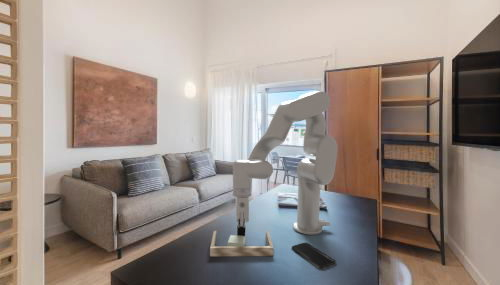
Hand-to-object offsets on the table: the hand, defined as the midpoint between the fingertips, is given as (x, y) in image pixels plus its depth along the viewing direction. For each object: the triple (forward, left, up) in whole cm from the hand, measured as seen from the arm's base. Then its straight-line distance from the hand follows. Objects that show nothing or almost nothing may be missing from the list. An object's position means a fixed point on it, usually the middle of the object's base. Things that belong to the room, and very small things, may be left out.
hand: (241, 235), depth 94 cm
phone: (-25, +13, -2) cm, 28 cm away
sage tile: (+2, +4, -2) cm, 5 cm away
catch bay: (0, +6, -1) cm, 6 cm away
